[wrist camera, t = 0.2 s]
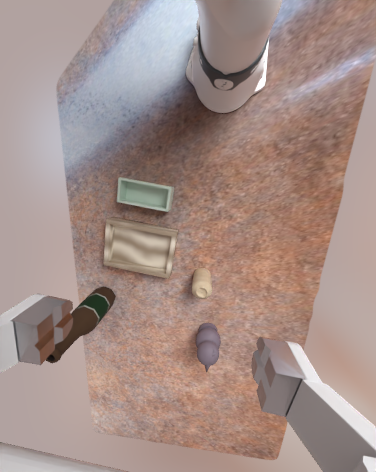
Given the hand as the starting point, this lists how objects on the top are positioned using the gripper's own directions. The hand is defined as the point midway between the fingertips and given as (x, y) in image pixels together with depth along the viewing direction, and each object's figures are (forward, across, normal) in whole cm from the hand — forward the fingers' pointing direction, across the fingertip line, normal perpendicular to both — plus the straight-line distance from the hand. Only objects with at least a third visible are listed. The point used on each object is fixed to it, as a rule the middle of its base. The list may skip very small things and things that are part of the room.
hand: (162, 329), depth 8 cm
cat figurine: (+47, -10, +42) cm, 64 cm away
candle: (+47, -5, +22) cm, 52 cm away
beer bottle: (+47, +27, +36) cm, 65 cm away
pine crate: (+47, +15, +15) cm, 52 cm away
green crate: (+47, +15, -1) cm, 49 cm away
